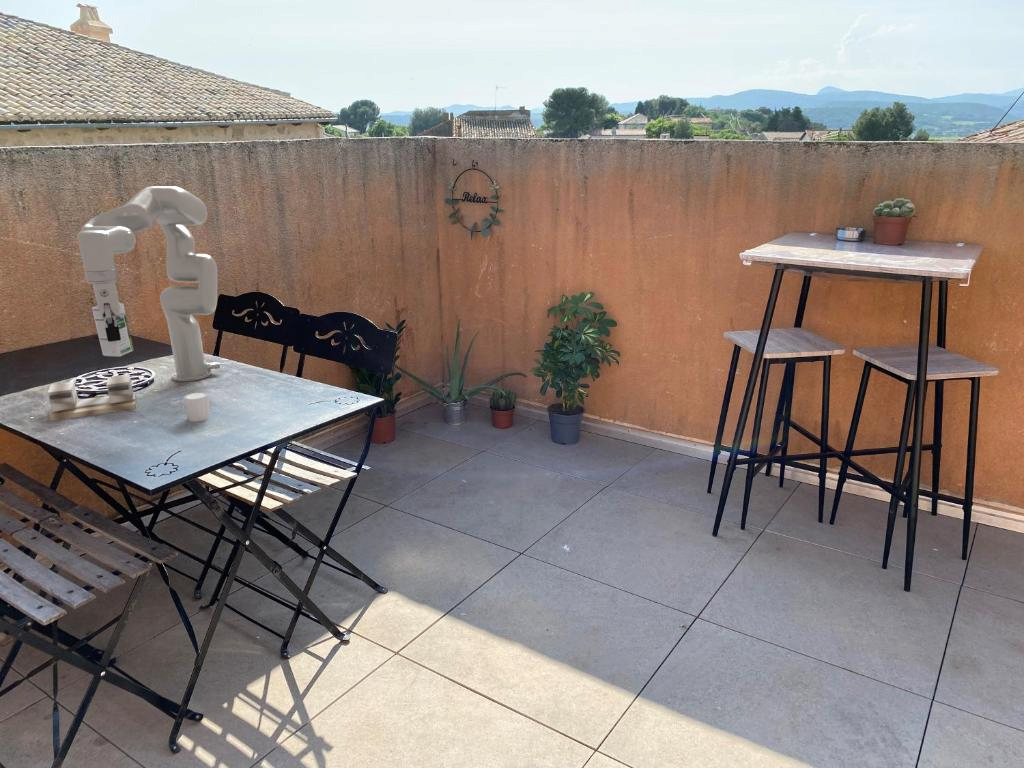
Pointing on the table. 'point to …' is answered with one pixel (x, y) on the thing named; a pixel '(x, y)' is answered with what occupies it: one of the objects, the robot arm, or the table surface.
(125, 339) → the syrup box
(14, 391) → the table surface
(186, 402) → the shot glass
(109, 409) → the rail board
